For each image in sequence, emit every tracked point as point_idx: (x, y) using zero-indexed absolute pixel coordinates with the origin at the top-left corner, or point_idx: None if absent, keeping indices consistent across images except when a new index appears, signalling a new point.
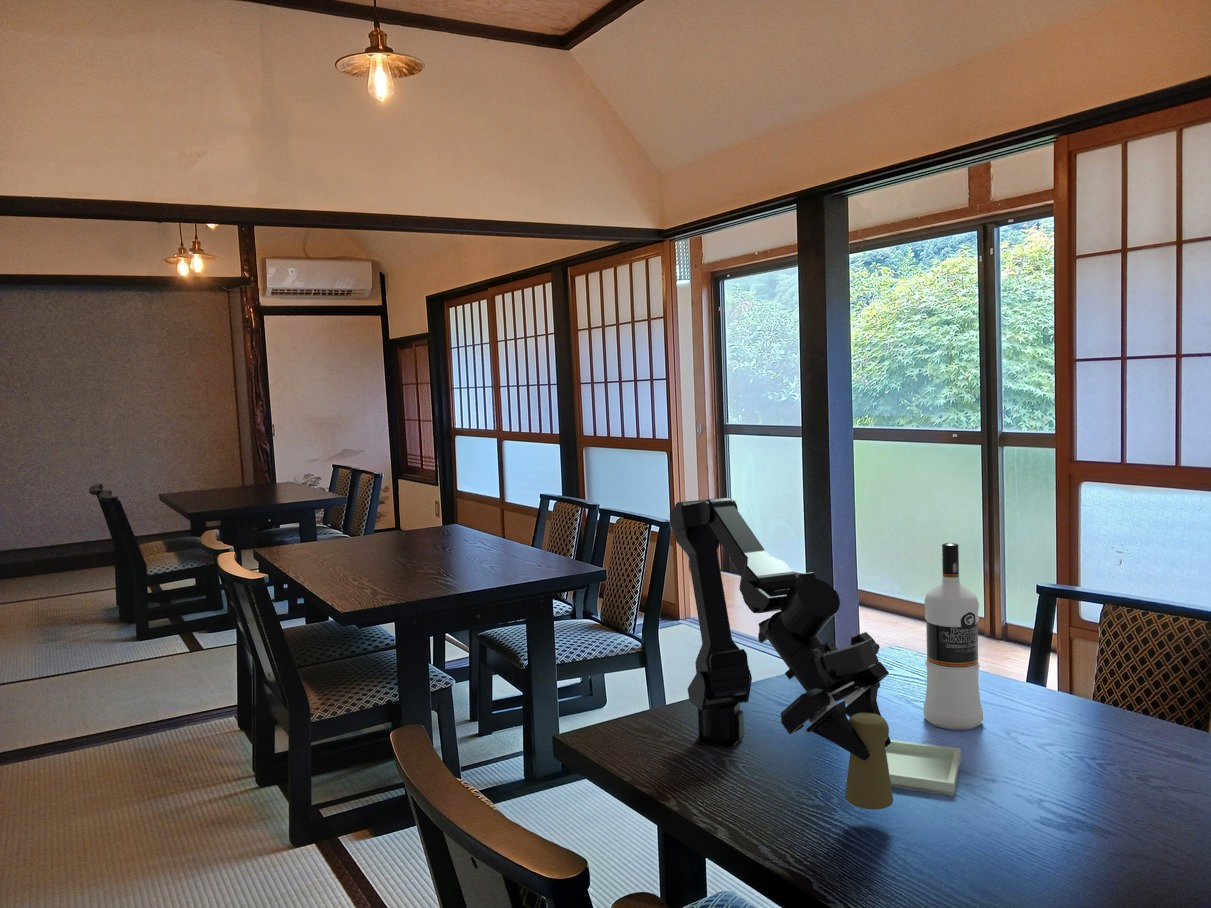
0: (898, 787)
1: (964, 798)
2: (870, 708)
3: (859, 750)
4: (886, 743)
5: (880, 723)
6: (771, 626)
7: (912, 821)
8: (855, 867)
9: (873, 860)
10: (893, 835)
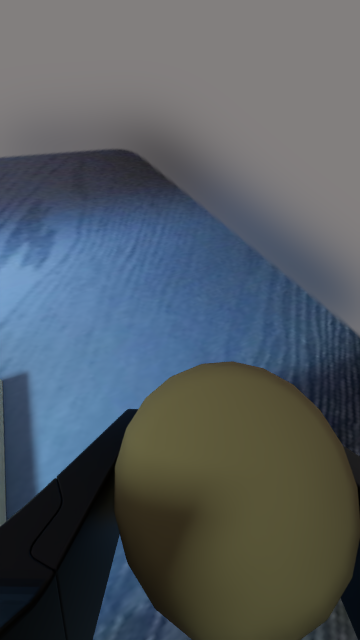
0: (4, 490)
1: (3, 363)
2: (67, 568)
3: None
4: None
5: (250, 375)
6: None
7: (136, 398)
8: (332, 401)
9: None
10: None
